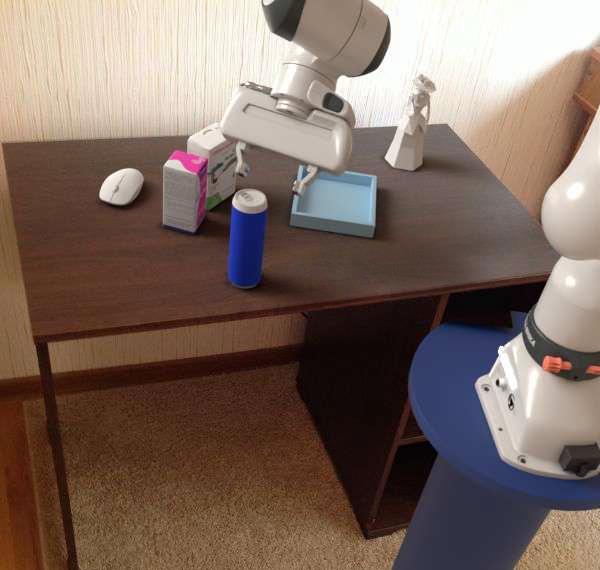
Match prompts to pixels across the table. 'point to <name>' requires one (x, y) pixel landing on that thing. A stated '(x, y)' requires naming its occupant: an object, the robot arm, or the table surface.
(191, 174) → the supplement box
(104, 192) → the computer mouse
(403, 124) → the figurine
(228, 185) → the ink box
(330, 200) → the tray
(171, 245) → the table surface
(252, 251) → the beverage can
